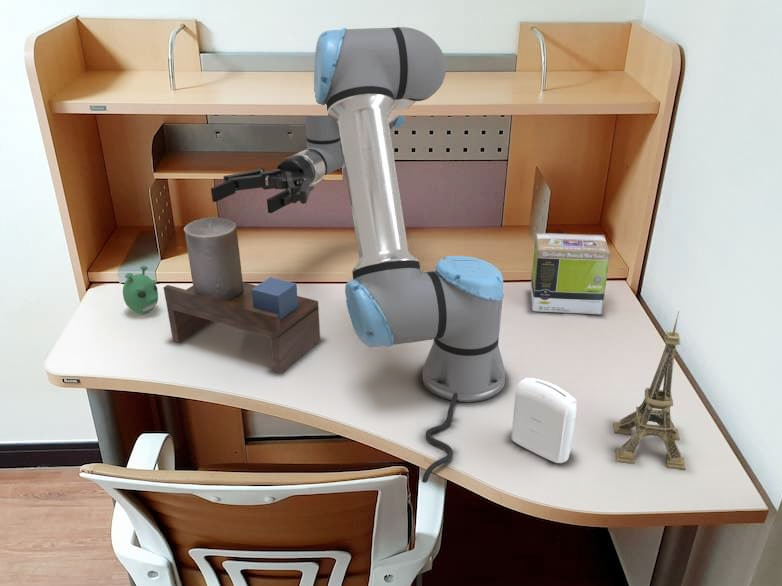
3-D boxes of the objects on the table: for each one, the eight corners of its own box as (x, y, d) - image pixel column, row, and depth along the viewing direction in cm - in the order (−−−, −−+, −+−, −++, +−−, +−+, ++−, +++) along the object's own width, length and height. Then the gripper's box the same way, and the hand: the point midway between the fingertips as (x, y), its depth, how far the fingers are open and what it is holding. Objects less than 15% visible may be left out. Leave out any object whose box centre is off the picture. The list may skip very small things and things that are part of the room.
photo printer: (506, 440, 126) (513, 378, 119) (521, 429, 128) (528, 367, 122) (559, 468, 120) (569, 404, 113) (573, 456, 122) (584, 392, 116)
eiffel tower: (616, 461, 121) (644, 324, 108) (613, 423, 130) (639, 291, 117) (685, 469, 120) (722, 331, 106) (677, 430, 128) (710, 297, 115)
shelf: (320, 340, 153) (317, 287, 146) (280, 373, 142) (275, 317, 136) (217, 312, 162) (210, 260, 156) (172, 341, 152) (163, 287, 145)
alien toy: (145, 323, 158) (137, 279, 153) (119, 314, 161) (110, 271, 156) (170, 310, 163) (163, 267, 158) (144, 301, 166) (136, 259, 161)
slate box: (298, 307, 146) (296, 283, 143) (280, 320, 141) (278, 296, 138) (272, 300, 148) (270, 277, 145) (253, 313, 143) (251, 289, 141)
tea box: (596, 295, 171) (606, 233, 163) (601, 316, 163) (612, 252, 155) (529, 291, 172) (535, 230, 164) (530, 312, 164) (538, 248, 156)
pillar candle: (238, 278, 156) (230, 208, 148) (248, 298, 148) (240, 225, 140) (190, 285, 153) (179, 214, 145) (197, 306, 145) (186, 232, 137)
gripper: (350, 197, 163) (294, 229, 147) (255, 180, 172) (193, 208, 156) (349, 162, 159) (292, 192, 143) (252, 146, 168) (188, 172, 152)
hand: (240, 200), depth 149 cm, fingers open, 13 cm apart
